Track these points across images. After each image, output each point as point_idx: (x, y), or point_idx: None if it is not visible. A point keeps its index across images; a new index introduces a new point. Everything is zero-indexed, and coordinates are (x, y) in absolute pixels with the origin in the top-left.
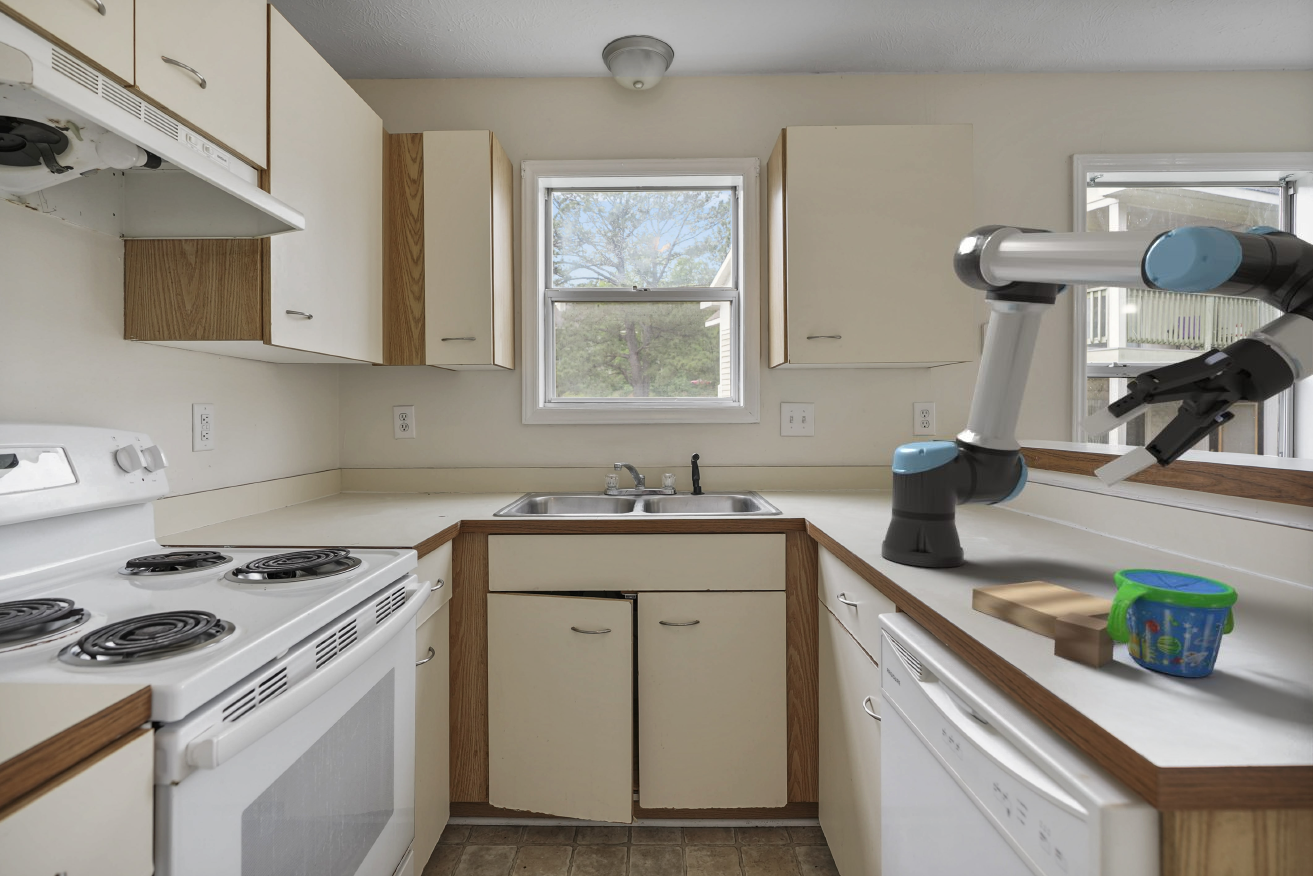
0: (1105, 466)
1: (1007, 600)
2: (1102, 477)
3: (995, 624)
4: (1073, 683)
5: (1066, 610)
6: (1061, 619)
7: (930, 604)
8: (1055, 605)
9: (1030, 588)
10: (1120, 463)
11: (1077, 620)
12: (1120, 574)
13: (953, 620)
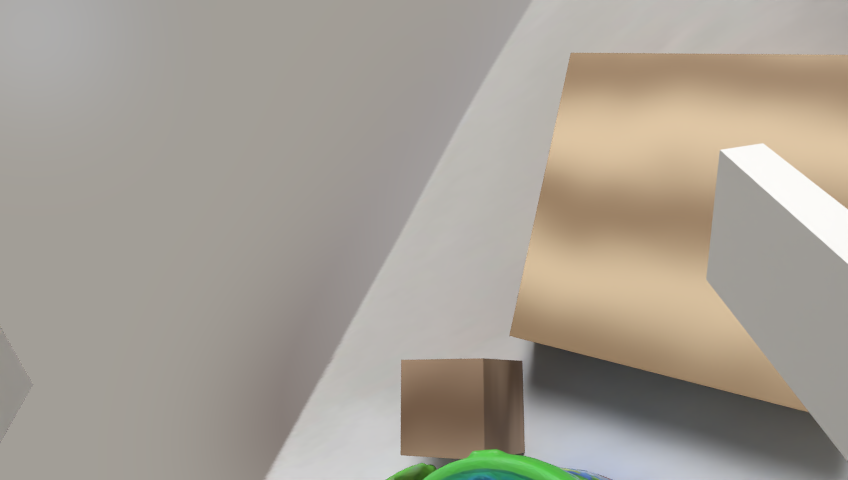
0: (765, 199)
1: (546, 169)
2: (715, 226)
3: (522, 186)
4: (342, 445)
5: (597, 301)
6: (407, 370)
7: (526, 14)
8: (617, 261)
9: (749, 114)
10: (813, 294)
11: (429, 396)
12: (448, 475)
13: (465, 125)
